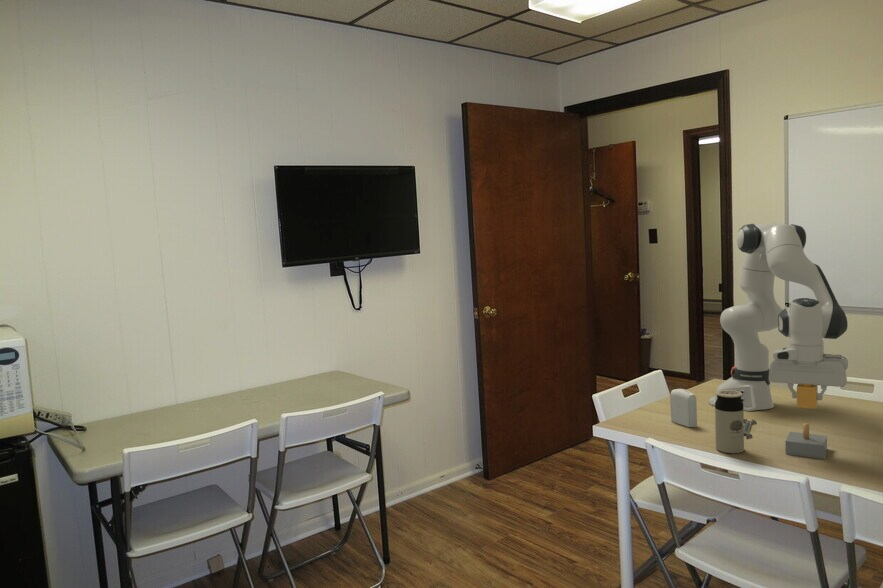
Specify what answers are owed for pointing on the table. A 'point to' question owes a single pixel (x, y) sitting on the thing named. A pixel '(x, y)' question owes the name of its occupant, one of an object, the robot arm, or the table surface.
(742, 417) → the travel mug
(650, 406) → the table surface
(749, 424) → the wrench
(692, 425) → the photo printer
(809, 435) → the box
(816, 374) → the robot arm
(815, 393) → the orange cube with knob
